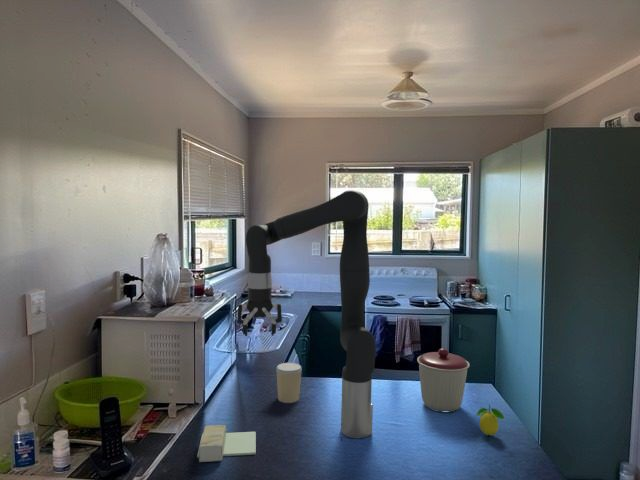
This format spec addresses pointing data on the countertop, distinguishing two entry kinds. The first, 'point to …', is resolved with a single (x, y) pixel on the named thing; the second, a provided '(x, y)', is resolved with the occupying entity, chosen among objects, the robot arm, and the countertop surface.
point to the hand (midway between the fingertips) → (259, 335)
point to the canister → (442, 379)
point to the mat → (239, 444)
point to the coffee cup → (288, 382)
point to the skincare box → (212, 443)
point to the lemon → (489, 420)
